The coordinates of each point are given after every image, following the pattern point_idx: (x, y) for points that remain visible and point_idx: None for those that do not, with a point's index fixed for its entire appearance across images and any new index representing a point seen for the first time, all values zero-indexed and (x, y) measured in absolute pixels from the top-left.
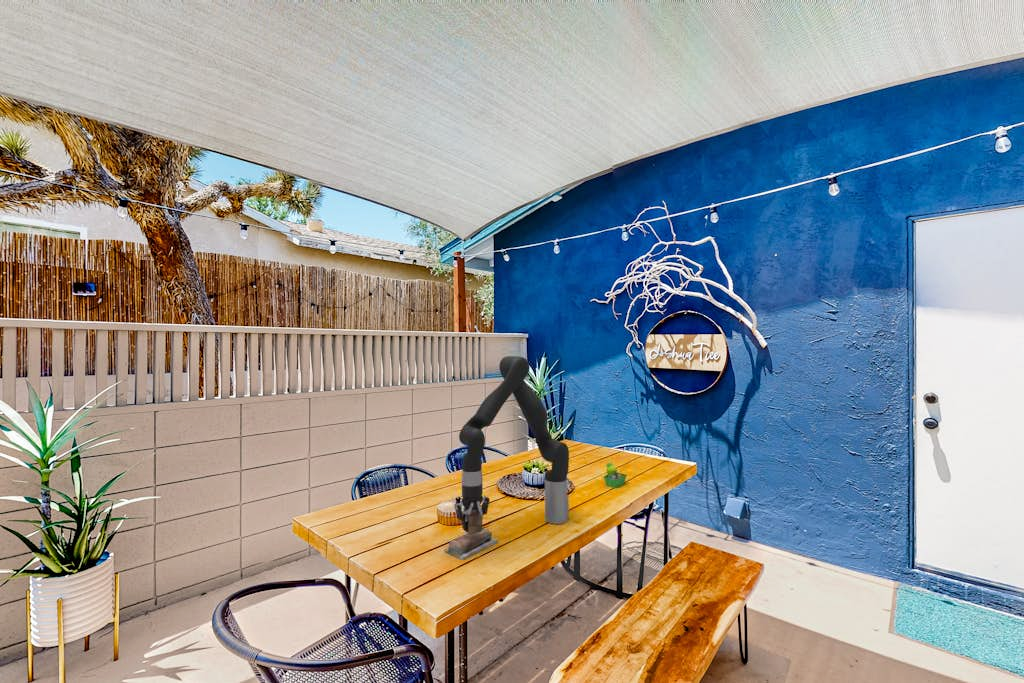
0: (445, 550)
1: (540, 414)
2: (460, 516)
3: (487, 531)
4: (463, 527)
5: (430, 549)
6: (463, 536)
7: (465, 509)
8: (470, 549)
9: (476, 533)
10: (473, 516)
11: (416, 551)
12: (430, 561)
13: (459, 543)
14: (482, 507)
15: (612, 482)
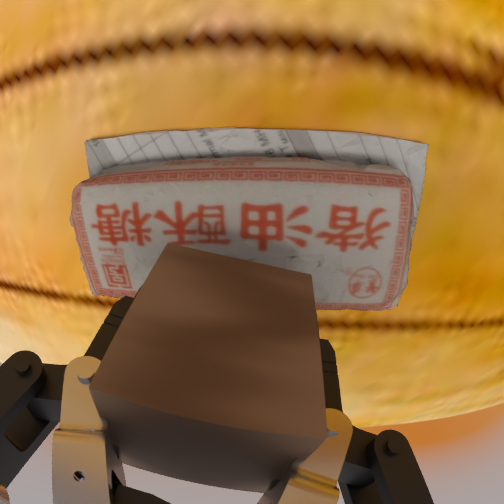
0: (86, 152)
1: None
2: (18, 431)
3: (373, 305)
4: (118, 317)
5: (55, 60)
6: (188, 212)
7: (89, 478)
8: None
9: (301, 262)
10: (164, 473)
11: (9, 42)
12: (12, 178)
13: (104, 272)
14: (382, 496)
15: None
